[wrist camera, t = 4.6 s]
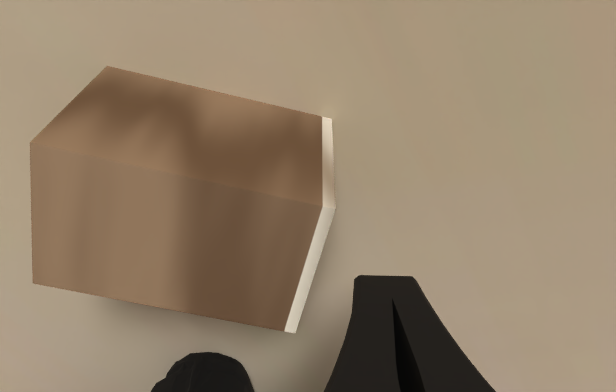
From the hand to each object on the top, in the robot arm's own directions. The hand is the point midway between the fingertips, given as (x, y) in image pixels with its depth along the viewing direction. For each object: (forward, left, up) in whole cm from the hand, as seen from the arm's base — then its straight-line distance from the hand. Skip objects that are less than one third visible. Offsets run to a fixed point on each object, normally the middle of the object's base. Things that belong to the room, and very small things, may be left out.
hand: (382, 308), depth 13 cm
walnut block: (+2, 0, -3) cm, 4 cm away
